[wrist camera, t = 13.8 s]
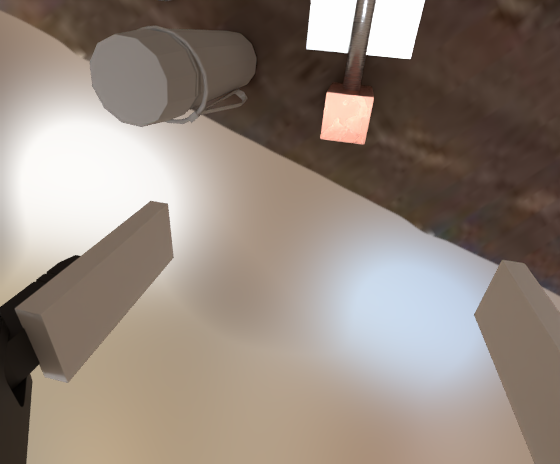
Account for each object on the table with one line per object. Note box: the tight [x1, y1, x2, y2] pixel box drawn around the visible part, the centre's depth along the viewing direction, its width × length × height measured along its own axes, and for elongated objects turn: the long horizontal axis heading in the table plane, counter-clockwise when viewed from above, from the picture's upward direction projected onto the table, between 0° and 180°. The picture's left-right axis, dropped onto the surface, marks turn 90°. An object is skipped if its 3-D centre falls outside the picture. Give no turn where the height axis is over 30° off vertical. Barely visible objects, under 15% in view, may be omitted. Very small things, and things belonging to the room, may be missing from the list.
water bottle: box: [90, 26, 257, 127], centre depth 37 cm, size 9×8×25 cm
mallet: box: [320, 0, 376, 144], centre depth 36 cm, size 24×5×9 cm, turn 176°
